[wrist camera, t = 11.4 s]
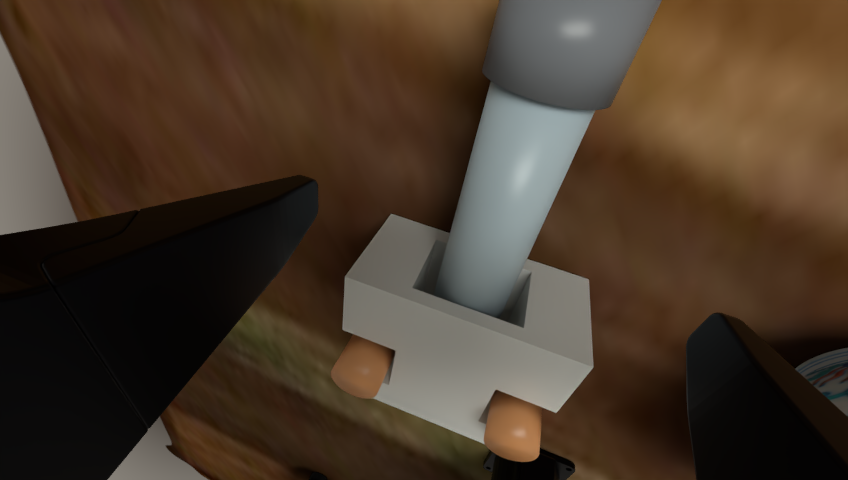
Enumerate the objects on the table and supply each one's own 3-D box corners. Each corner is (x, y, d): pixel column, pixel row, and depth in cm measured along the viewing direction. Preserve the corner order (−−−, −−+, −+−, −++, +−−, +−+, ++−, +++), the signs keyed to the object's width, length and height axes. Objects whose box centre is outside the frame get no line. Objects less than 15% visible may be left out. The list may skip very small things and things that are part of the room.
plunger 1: (392, 368, 23) (375, 404, 21) (350, 351, 23) (330, 386, 21) (397, 340, 21) (380, 378, 19) (352, 323, 22) (331, 358, 20)
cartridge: (507, 301, 23) (495, 363, 19) (435, 276, 23) (411, 331, 20) (648, -6, 13) (677, 6, 9) (517, -34, 13) (497, -35, 10)
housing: (528, 375, 27) (519, 458, 23) (376, 318, 29) (339, 384, 24) (588, 279, 21) (593, 367, 16) (391, 213, 23) (344, 276, 18)
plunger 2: (532, 423, 22) (528, 468, 20) (485, 405, 22) (477, 447, 20) (550, 399, 20) (547, 445, 18) (499, 380, 20) (492, 423, 18)
